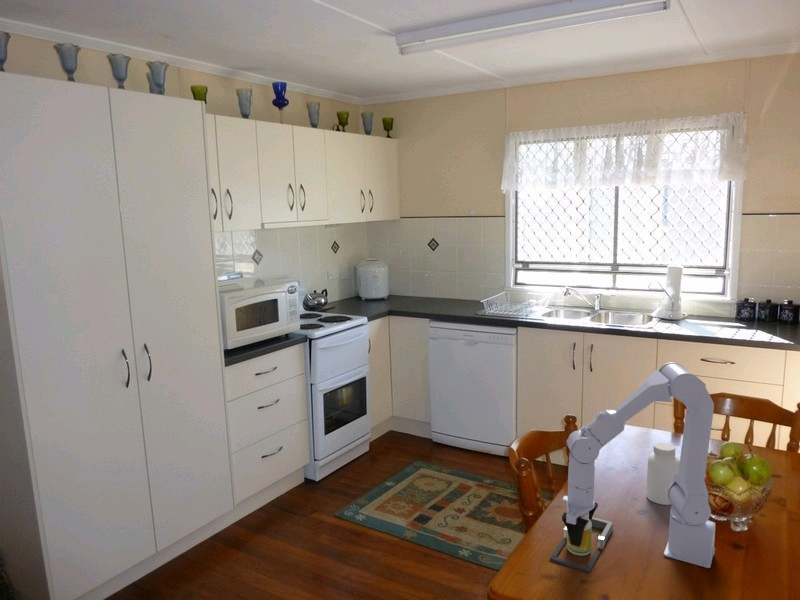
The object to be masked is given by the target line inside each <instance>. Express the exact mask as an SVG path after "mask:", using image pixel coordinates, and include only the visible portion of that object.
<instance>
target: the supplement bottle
mask: <svg viewBox="0 0 800 600" xmlns="http://www.w3.org/2000/svg"><path fill="white" fill-rule="evenodd" d="M580 517H581V519H585V520H589V521H588V523H587V525H586V526H585V529H584V532H583V537H582V542H581V545H580V547H578V546H575V545H571V543H570V539H569V535H568V531H567V539H566V549H567V550H568V551H569V552H570V553H571V554H572V555H576V556H580V557H581V556H582V557H583V556H586V555H589V554H591V551H592V532H593V531H592V530H593V527H592V523H591V520H590V519H589V511H588V512H587V513H585V514H583V515H581V516H580Z"/></svg>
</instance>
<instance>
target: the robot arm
mask: <svg viewBox="0 0 800 600" xmlns="http://www.w3.org/2000/svg"><path fill="white" fill-rule="evenodd" d="M706 385H707V384H706V383H705V382H704V381H703V380H701V378H699V377H698V376H697V375H695V374H694V373H691V372H690V371H689V370H688V369H686V368H685V367H684V366H683V365H682V364H680V363H678V362H673V361H671V362H670V361H669V362H666V363H664V364H662V365H661V366H660V367H659V369H657V370H655V371H653V372H652V373H651V374H650V375H649V377H648V378H647V379H646V380H645V382H643V383H642V384H641V385H640V386H639V387H638V388H637V389H635V390H634V392H633V393H631V394H630V395H629V396H628V397H627V398H626V399H625V400H624V401H622V403H620V404H619V405H618V406H617V407H616V408H615V409H605V410H603V411H598V412H597V413H596V414H595V415H596V417H595V418H594V419H592V420H591V421H590V422H589V423H587V424H586V425H585V426H584V425H583V426H581V427H580V428H579V429H578V430H575V431H573V432H571V433H570V434H569V436H568V438H567V439H566V446H567V447H568V449H569V450H570V451H569V455H568V460H569V462H568V470H567V471H568V475H567V495H564V496H563V497H562V502H563V503H566V509H567V510H566V511H567V512H563V514H561V520H562V522H563V523H564V525H565V526H564V527H566V528H567V531H568V535H569V539H570V543H571V545H575V546H578V547H580V545H581V542H582V537H583V532H584V529H585V526H586V525H587V523H588V521H589V520H585V519H581V517H580V516H581V515H583V514H585V513H587V512H588V511H589V519H590V520H592V517H594V514H595V511H596V510H597V509H598V507H599V503H597V502H596V501H595V479H596V478H595V474H596V473H595V472H596V471H595V470H596V466H595V464H596V463H595V460H597V459H598V457H599V455H600V450H602V449H603V447H605V446H606V445H607V444H609V443H610V442H611V441H612V440H613V439H615V438H616V437H617V436H619V435H620V434H622V433H623V432H624V431H625V425H626V422H628V421H629V420H630V419H631V418H633V417H634V416H636V415H638V414H639V413H641V412H642V411H643V410H644V409H647V407H649V406H650V405H652V404H653V403H655V402H662V403H663V402H666V403H672V402H673V399H672V397H673V398H674V399H675V400H677V401H678V402H680V403H683V405H684V406H685V407H686V410H685V415H684V416H685V418H684V425H683V432H682V441H681V451H680V458H679V460H680V464H679V472H678V473H677V474H675V475H674V477H673V482H672V484H671V485H670V486H669V488H668V491H667V496H668V499H669V500H670V502H672V505H671V508H670V512H669V526H668V528H669V529H668V540H667V543H666V545H665V546H666V547H665V549H664V552H663V556H664V557H666V558H670V559H675V560H678V561H682V562H685V563H689V564H692V565H697V566H699V567H702V568H703V567H704V568H706V569H710V568H711V565H712V561H713V558H714V556H715V554H716V553H715V552H716V547H715V539H716V538H715V536H716V522H714V521H712V520H709V519H710V517H711V513H712V510H711V507H710V503H709V491H708V489H707V485H706V482H705V477H706V469H707V462H708V454H709V449H710V441H711V440H710V439H711V431H712V425H713V418H714V409H715V403H714V400H712V397H711V395H710V393H709V391H708V390H707V387H706Z"/></svg>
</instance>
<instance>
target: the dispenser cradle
mask: <svg viewBox="0 0 800 600" xmlns="http://www.w3.org/2000/svg"><path fill="white" fill-rule="evenodd" d="M591 523H592V528H597V529H599V530H603V531H602V533H601V535H599V536H598V538H597V549H600V550H604V548H605V545H606V543H607V541H608V540H609V538H610V535H611V533H612V531H613V527H614V523H613V522H612V521H609V520H606V519H602V518H597V517H594V516H593V517H592V520H591ZM563 539H565V540H567V528H566V526H564V528H563Z"/></svg>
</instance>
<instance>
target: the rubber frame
mask: <svg viewBox="0 0 800 600" xmlns="http://www.w3.org/2000/svg"><path fill="white" fill-rule="evenodd" d="M565 545H567V540H564V539H560V542H558V544H557V546H556V547H555V549H554V551H553V552H552V554H551V555H550V556H549V561H551V562H554V563H557V564H560V565H564V566H566V567H570V568H573V569H577V570H580V571H582V572H587V573H589V574H590V573H591V571H592V569H593V568H594V565H596V562H597V560H598V558H599V556H600V554H601V550H599V549H595V551H593V554H592V556H591V558H590V559H589V561H588V563H587V565H583V564H580V563H577V562H573V561H570V560H568V559H563V558H560V557H558V556H559V555H560V553H561V551H562V549H563V548H564V547H565Z"/></svg>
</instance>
